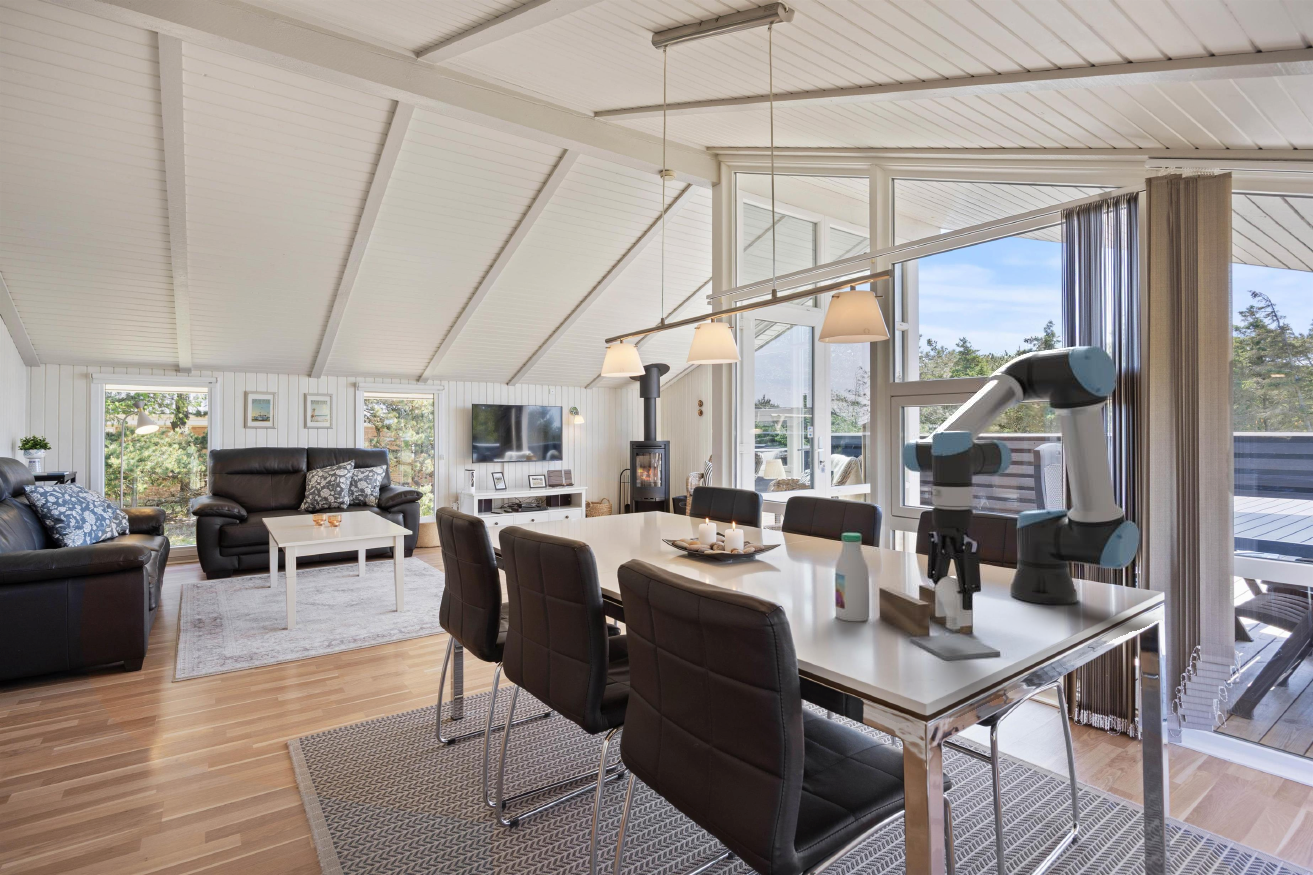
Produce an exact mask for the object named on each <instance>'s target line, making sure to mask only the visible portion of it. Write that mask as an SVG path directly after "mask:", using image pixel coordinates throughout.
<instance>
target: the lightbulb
mask: <svg viewBox="0 0 1313 875" xmlns="http://www.w3.org/2000/svg"><path fill="white" fill-rule="evenodd" d="M965 587H966V586H965ZM957 591H960V588H959V584H958V579H957V575H948V576H946V577H943V578H942V579H940V580H939V582H938V583H937V586H936V595H937V597H938V599H939V601H940V602H941V604H942V605H943V608H944V612H945V614H946V626H945V627H946V628H947V629H949V630H950V631H956V630H957V629H959V628H960V626H958V625H957Z"/></svg>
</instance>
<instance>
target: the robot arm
mask: <svg viewBox="0 0 1313 875" xmlns="http://www.w3.org/2000/svg"><path fill="white" fill-rule="evenodd" d="M1116 381H1117V371H1116V366H1115V364H1114V362H1113V360H1112V357H1111V356H1110V355H1109V353H1108V352H1106V351H1105V349H1103V348H1102V347H1099V346H1096V345H1091V346H1090V345H1087V346H1085V345H1084V346H1081V345H1080V346H1079V345H1078V346H1072V347H1071V346H1070V347H1064V348H1057V349H1049V350H1039V351H1038V350H1037V351H1031V352H1028V353H1026V354H1023V355H1020V356H1018V357H1016V358H1014V359H1011V361H1009V362H1007V363H1006V364H1004V365H1002V366H1001V367H1000V368H998V369H997V370H995V372H993V373H991V375H990V376H988V378H986V380H985V381H984V384H983V387H982V388H981V389H980V390H979V391H978V392H976V393H975V394H974V395H973V396H972V397H971V398H970V399H968V400H967V401H966V402H965V403H964V404H963V405H962V406H961V407H960V408H958V409H957V410H955V411H954V413H953V414H951V415H950V417H948V418H947V419H946V420H945V421H943V422H942V423H941V424H940V425H939V426H938V427H937V428H936V429H935V430H933V432H931V433H930V434H929V435H928V436H926V437H925V438H924V439H921V438H917V439H912V440H909V441H908V442H906V444H905V445H904V447H903V449H902V453H901V454H902V455H901V456H902V461H903V464H904V466H905V468H906V469H907V470H908V471H911V472H916V473H922V474H932V484H931V485H932V504H933V505H934V507H933V508H932V509H931V510H932V512H931V513H932V516H931V517H932V518H931V519H932V525H933V526H935V527H937V529H936V531H933V532H932V531H929V532H927V534H926V535H927V542H928V547H927V548H928V549H927V571H926V572H927V573H926V575H927V576H926V577H927V578H928V580H931V581H932V583H933V584H934V587H935V616H937V617H943V616H946V614H945V612H944V608H943V605H942V604H941V602H940V601H939V599H938V597H937V595H936V586H937V583H938V582H939V580H940V579H942V578H943V577H946V576H949V570H950V566H951V562H952V560H953V563H954V568H955V573H956V576H957V579H958V584H959V588H960V591H957V625H958V626H972V609H973V607H974V606H973V605H974V604H973V601H974V600H973V599H974V596H973V595H974V594H975V593H979V592H981V591H982V584H981V568H980V567H981V566H980V564H981V563H980V550H981V542H980V541H979V540H972V539H971V536H970V533H969V529H970V528H972V527H973V525H974V510H972V509H973V508H970V507H972V506H973V505H974V487H973V477H983V476H987V477H988V476H989V477H993V476H996V475H1001V474H1004V473H1006V471H1007V470H1009V468H1010V466H1011V464H1012V459H1013V457H1012V451H1011V449H1010V448H1009V446H1008V445H1007V444H1006V443H1004V442H1003V441H1001V440H995V439H977V438H978V437H979V436H980V435H981V434H982V433H983V432H984V431H985V430H986V429H988V428H989V427H990V426H991V425H992V424H993V423H994V422H995V421H997V419H998V418H999V417H1000V416H1001V415H1003V414H1004V413H1005V412H1006V411H1007V410H1009V409H1012V408H1015V407H1018V406H1019V405H1020V404H1021V403H1023V402H1025V401H1029V400H1030V401H1031V400H1036V399H1041V400H1042V399H1048V402H1049V408H1050V410H1052V411H1054V412H1055V413H1057V414H1058V418H1059V425H1060V431H1061V438H1062V444H1063V450H1064V457H1065V463H1066V469H1067V475H1068V476H1067V477H1068V484H1069V488H1070V490H1069V491H1070V495H1071V496H1070V497H1071V502H1072V508H1071V509H1069V510H1068V509H1066V508H1065V509H1064V508H1051V509H1035V510H1034V509H1033V510H1025V511H1022V512H1020V513H1019V514H1018V516H1017V521H1016V522H1017V523H1016V524H1017V525H1016V537H1017V538H1016V539H1017V540H1016V541H1017V545H1016V546H1017V567H1016V570H1015V573H1014V577H1013V579H1012V580H1013V581H1012V582H1011V584H1010V592H1009V593H1010V596H1011V597H1013V598H1016V599H1018V600H1020V601H1021V600H1022V601H1023V602H1024V601H1025V602H1030V603H1035V604H1041V605H1042V604H1043V605H1044V604H1045V605H1072V604H1075V603H1077V602H1078V591H1077V589H1076V588H1075V585H1074V584H1075V583H1074V581H1073V577H1072V575H1071V573H1070V563H1073V564H1074V563H1075V564H1081V565H1087V566H1091V567H1098V568H1102V569H1113V570H1114V569H1116V570H1121V569H1124V568H1126V567H1128V566H1129V565H1130V564H1131V562H1133V560H1134V558H1135V557H1136V553H1137V552H1138V547H1139V542H1140V531H1139V528H1138V526H1137V525H1136V523H1135V522H1133V521H1131V520H1126V517H1125V516H1126V515H1125V510H1124V509H1122V508H1121V507H1120V506H1118V505H1117V504H1116V501H1115V495H1114V488H1113V480H1112V474H1111V467H1110V460H1109V454H1108V446H1107V440H1106V434H1105V433H1106V432H1105V427H1104V420H1103V418H1104V417H1103V413H1102V412H1103V411H1102V409H1103V406H1104V405H1106V403H1107V402H1108V401H1109V400H1108V396H1109V395H1111V394H1112V393H1113V392H1114V390H1115V389H1116V385H1117V383H1116ZM965 586H966V587H965ZM973 610H974V609H973Z"/></svg>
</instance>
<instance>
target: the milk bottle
mask: <svg viewBox="0 0 1313 875" xmlns="http://www.w3.org/2000/svg"><path fill="white" fill-rule="evenodd" d="M862 539H863V536H862V534H861V533H858V532H844V533H842V534H841V543H842V547H841V552H840V554H839V556H838V558H837V560H836V563H835V570H834V571H835V573H834V574H835V575H834V577H835V578H834V580H835V581H834V582H835V583H834V587H835V588H834V590H835V594H834V595H835V597H834V598H835V600H834V601H835V604H834V605H835V608H834V609H835V616H836V618H837V619H839V620H842V621H846V622H865V621H867V620H869V618H870V572H869V566H868V563H867V560H866V558H865V555H864V553H863V550H862V545H861V544H862V542H863V541H862Z"/></svg>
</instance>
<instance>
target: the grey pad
mask: <svg viewBox="0 0 1313 875" xmlns="http://www.w3.org/2000/svg"><path fill="white" fill-rule="evenodd" d="M909 642H911V643H912V644H914V645H916V646H918V647H920V648H921V649H924V650H925V651H927V652H929V653H931V654H932V655H935V656H936V657H939V658H941V659H942V660H945V661H954V660H956V661H957V660H966V659H975V658H976V659H977V658H988V657H996V656H997V657H998V656H1001V651H1000V650H998V649H996V648H994V647H992V646H989V645H987V644H985V643H982V642H980V641H979V640H976V639H974V638H971V636H967V635H965V634H962V633H960V632H958V633H948V634H939V635H938V634H936V635H930V636H922V637H918V636H914V637H913V636H911V637H909Z"/></svg>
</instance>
